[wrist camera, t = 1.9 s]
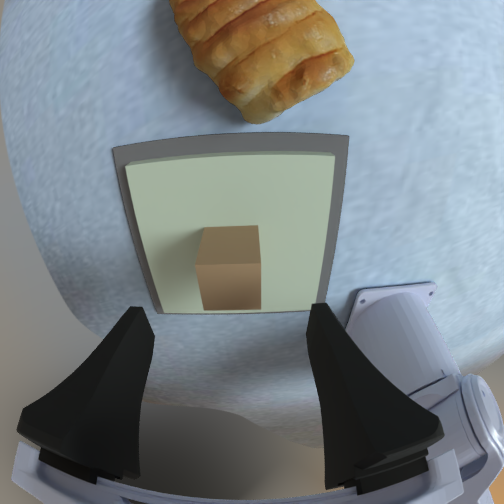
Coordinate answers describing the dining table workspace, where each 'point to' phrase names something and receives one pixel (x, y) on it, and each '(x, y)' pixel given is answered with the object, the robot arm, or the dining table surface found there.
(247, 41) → the pastry
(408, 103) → the dining table surface
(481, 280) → the dining table surface
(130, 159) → the mat
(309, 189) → the cover
